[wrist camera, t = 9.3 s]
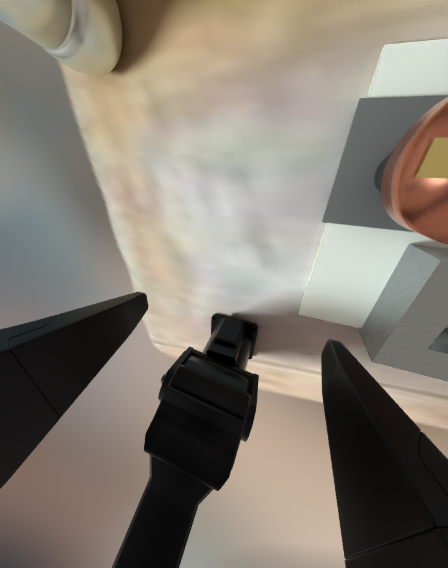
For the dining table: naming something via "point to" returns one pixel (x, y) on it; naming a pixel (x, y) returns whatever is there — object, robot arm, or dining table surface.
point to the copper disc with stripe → (419, 176)
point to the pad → (372, 159)
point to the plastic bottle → (70, 30)
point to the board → (364, 240)
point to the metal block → (412, 315)
